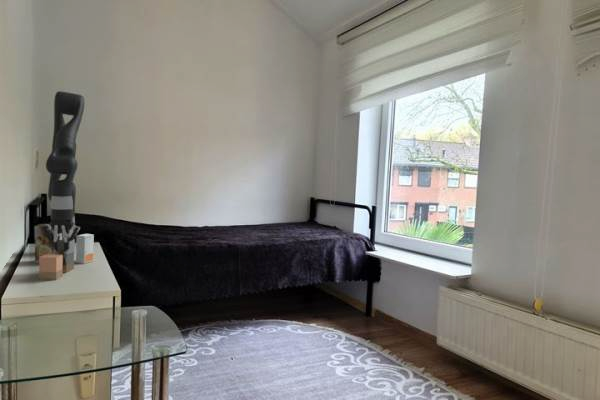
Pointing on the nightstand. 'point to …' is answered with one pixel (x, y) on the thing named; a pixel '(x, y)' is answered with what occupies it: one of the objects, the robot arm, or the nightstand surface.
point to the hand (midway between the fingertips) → (61, 250)
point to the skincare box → (84, 248)
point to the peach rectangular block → (50, 267)
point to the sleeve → (68, 263)
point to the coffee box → (43, 242)
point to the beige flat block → (61, 249)
